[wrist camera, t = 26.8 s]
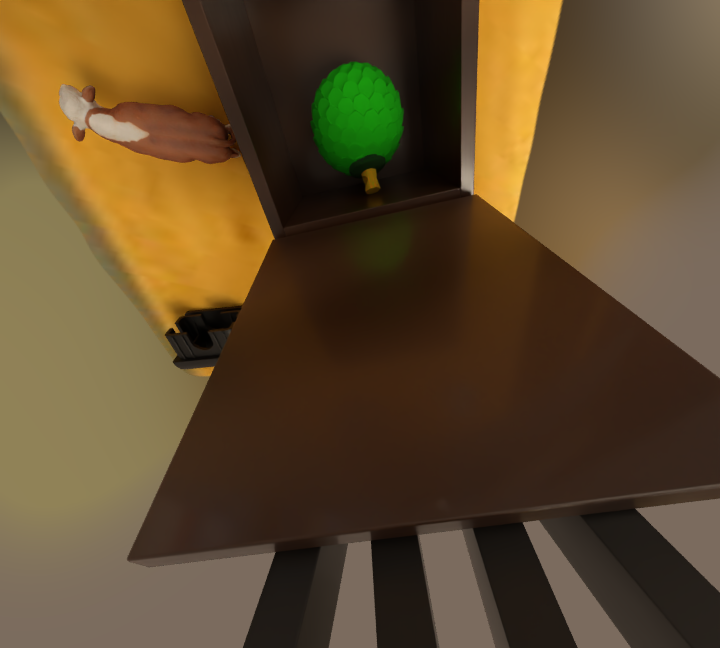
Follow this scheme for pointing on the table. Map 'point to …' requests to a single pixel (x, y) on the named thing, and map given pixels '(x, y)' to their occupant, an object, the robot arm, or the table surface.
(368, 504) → the chest lid
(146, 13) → the table surface
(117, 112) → the bull figurine
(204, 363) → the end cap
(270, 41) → the chest
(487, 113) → the table surface
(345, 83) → the ornament
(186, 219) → the table surface
